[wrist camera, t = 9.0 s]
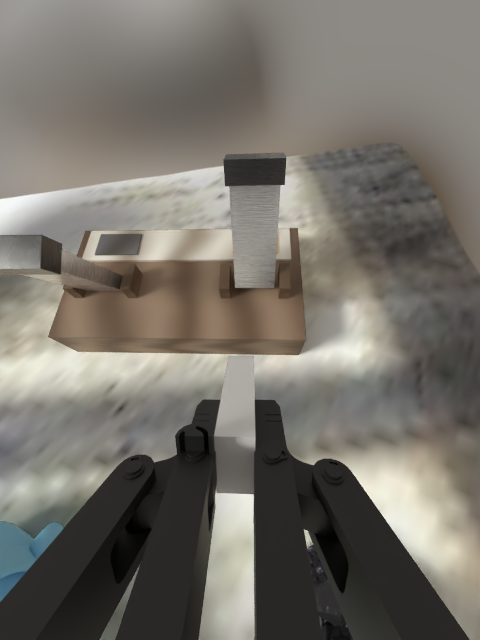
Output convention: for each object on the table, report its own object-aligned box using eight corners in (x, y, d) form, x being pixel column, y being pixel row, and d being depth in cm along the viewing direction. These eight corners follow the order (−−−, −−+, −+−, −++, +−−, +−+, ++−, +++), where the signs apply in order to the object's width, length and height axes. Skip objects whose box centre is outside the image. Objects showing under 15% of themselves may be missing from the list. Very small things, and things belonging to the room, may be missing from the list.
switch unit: (78, 351, 31) (33, 329, 25) (106, 256, 37) (75, 218, 31) (298, 355, 30) (309, 332, 23) (292, 255, 36) (300, 215, 29)
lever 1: (86, 293, 29) (-27, 268, 17) (87, 273, 29) (-25, 235, 17) (127, 293, 28) (40, 268, 17) (127, 273, 28) (41, 235, 17)
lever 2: (231, 289, 27) (223, 159, 19) (233, 278, 29) (226, 154, 21) (277, 289, 27) (286, 157, 19) (276, 278, 28) (284, 152, 21)
